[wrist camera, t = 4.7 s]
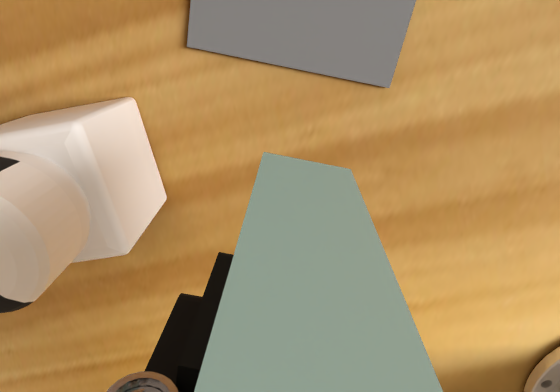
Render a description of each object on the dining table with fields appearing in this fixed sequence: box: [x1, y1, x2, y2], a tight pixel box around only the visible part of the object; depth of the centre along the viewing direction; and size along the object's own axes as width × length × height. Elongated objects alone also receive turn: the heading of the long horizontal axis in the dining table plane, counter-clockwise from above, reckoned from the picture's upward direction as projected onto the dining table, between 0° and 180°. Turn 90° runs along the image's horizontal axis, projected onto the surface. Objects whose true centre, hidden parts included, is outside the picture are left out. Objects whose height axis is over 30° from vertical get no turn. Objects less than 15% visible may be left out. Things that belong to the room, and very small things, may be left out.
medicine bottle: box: [0, 97, 167, 313], centre depth 19 cm, size 7×7×12 cm
